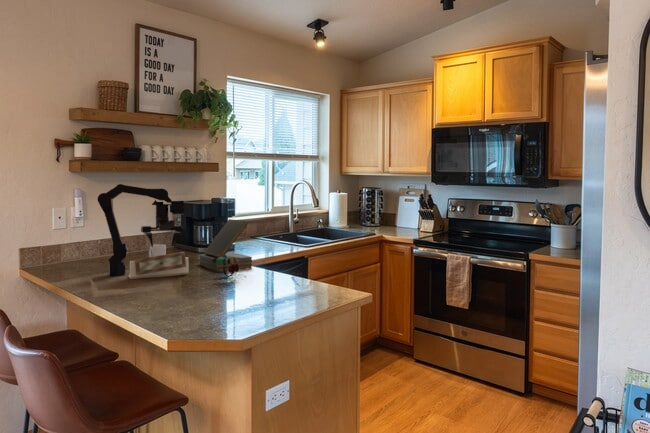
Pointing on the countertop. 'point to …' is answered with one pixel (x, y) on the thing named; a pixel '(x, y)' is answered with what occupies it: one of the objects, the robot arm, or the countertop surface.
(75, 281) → the countertop surface
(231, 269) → the binoculars
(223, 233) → the open lidded box
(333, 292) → the countertop surface
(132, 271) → the long wooden tray
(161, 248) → the mug
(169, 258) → the picture frame
